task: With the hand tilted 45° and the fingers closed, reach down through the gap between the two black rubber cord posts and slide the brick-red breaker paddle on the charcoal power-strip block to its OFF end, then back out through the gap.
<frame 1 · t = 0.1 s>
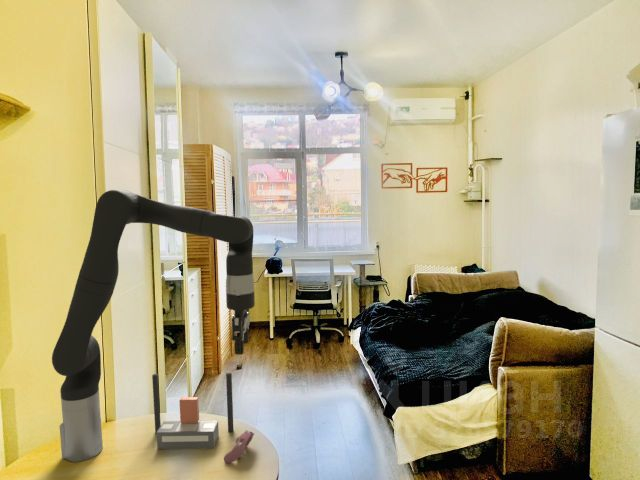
hand: (241, 348, 120), 29 cm above the table, tool pointing down, fingers open, 8 cm apart
breaker block: (188, 442, 127), on the table
breaker paddle: (189, 409, 128), point 9 cm above the table, slide at 0.0 cm
video game controller: (240, 455, 121), on the table
cord posts: (194, 431, 133), on the table
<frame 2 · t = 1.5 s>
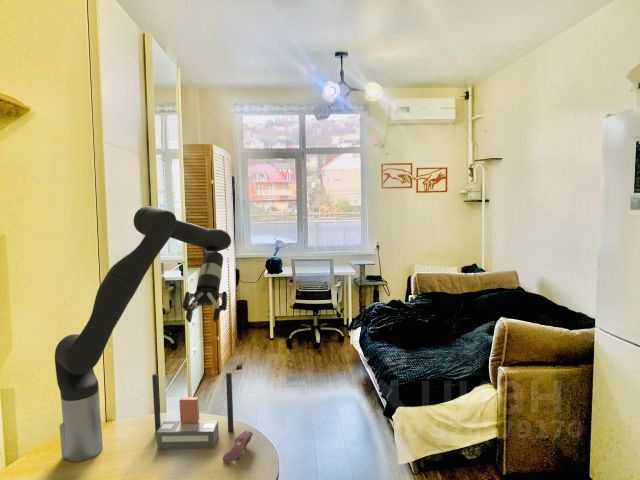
hand: (201, 321, 142), 31 cm above the table, tool tilted 45°, fingers open, 8 cm apart
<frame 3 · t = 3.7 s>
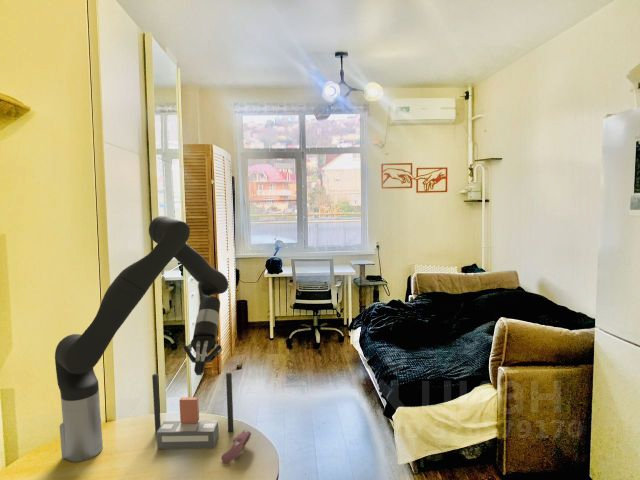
hand: (198, 374, 139), 15 cm above the table, tool tilted 45°, fingers closed
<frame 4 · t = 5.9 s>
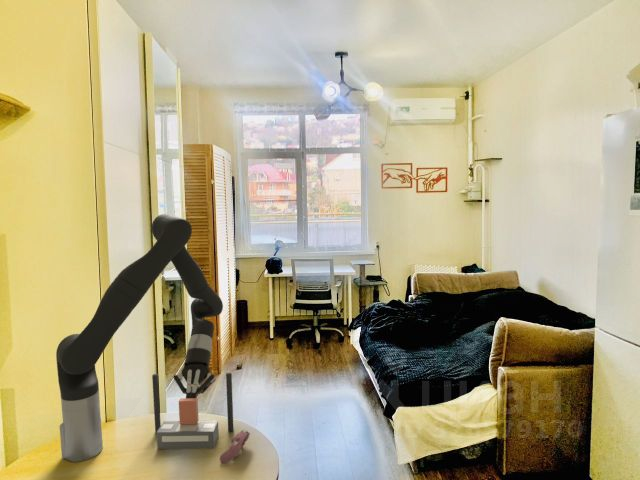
hand: (189, 407, 128), 9 cm above the table, tool tilted 45°, fingers closed
breaker paddle: (188, 411, 127), point 9 cm above the table, slide at 0.8 cm, touching gripper
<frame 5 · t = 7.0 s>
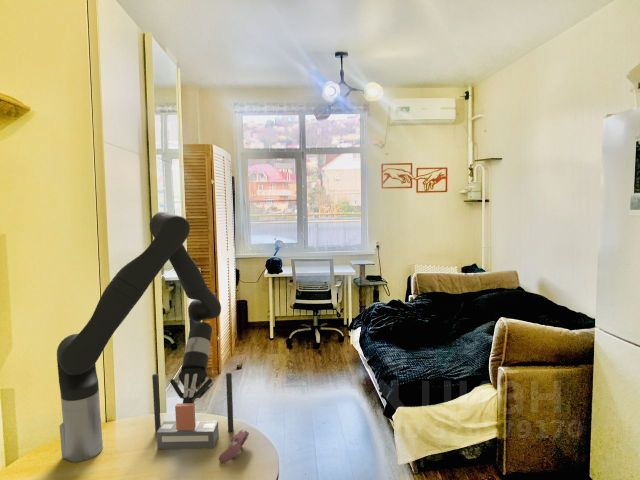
hand: (186, 412, 125), 9 cm above the table, tool tilted 45°, fingers closed
breaker paddle: (185, 416, 124), point 9 cm above the table, slide at 3.8 cm, touching gripper
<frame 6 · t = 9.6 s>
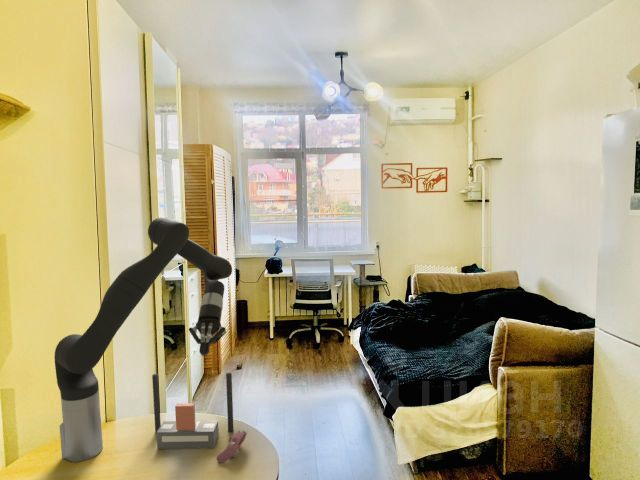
hand: (203, 354, 144), 19 cm above the table, tool tilted 45°, fingers closed
breaker paddle: (185, 416, 124), point 9 cm above the table, slide at 3.8 cm
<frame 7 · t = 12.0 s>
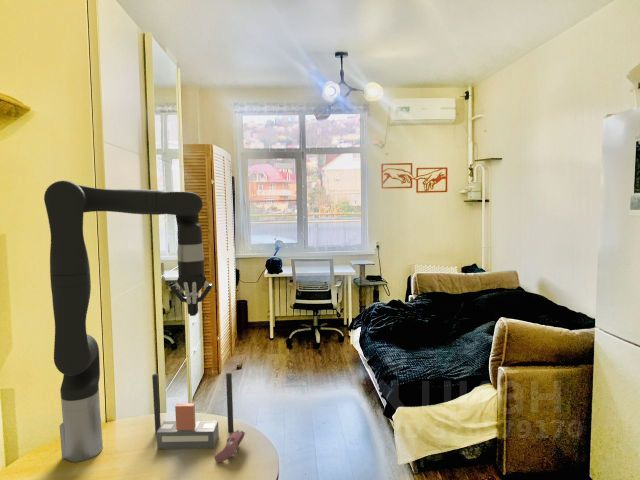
hand: (193, 315, 133), 35 cm above the table, tool pointing down, fingers closed
at the end: breaker paddle slide at 3.8 cm; the gripper is holding nothing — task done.
